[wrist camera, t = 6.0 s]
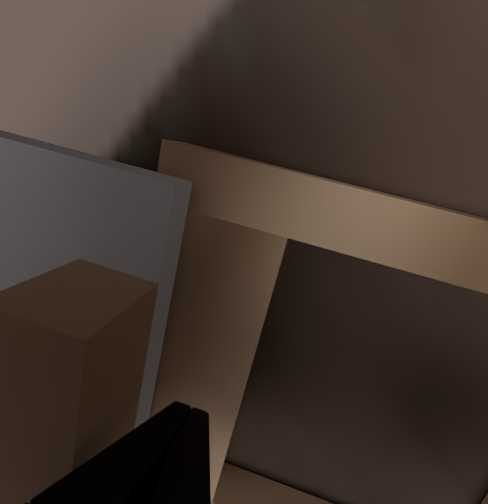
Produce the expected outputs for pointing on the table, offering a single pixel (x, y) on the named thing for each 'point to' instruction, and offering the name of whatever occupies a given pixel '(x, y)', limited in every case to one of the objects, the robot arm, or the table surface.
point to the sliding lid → (78, 304)
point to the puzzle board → (265, 275)
